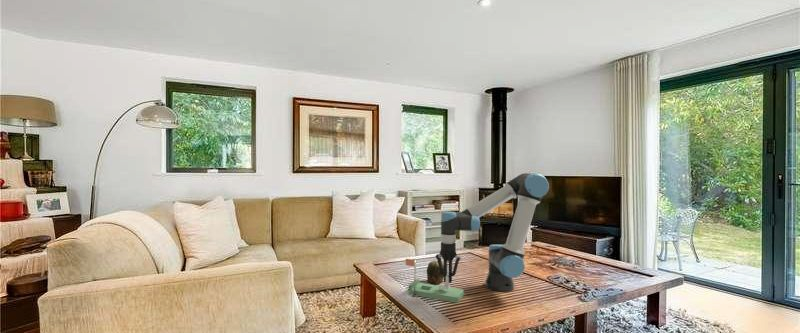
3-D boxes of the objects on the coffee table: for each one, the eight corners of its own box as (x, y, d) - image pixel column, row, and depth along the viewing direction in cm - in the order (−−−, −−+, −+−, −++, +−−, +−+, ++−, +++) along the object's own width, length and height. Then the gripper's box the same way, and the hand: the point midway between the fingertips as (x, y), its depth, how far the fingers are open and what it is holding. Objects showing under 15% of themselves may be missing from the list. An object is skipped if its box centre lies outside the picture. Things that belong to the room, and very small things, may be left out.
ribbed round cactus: (445, 286, 183) (445, 264, 183) (425, 284, 186) (425, 263, 186) (446, 279, 194) (446, 259, 194) (427, 278, 196) (427, 258, 196)
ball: (440, 281, 172) (438, 287, 172) (438, 283, 168) (436, 289, 169) (446, 284, 170) (444, 290, 171) (445, 286, 167) (442, 293, 168)
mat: (464, 294, 171) (464, 285, 171) (458, 302, 160) (458, 293, 160) (417, 286, 182) (417, 278, 182) (408, 294, 171) (408, 285, 171)
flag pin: (417, 295, 168) (418, 259, 169) (416, 297, 166) (416, 260, 166) (406, 293, 171) (406, 257, 171) (404, 295, 169) (404, 259, 169)
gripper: (462, 242, 169) (462, 288, 169) (438, 239, 175) (437, 284, 174) (459, 245, 162) (458, 293, 162) (433, 242, 168) (433, 289, 168)
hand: (447, 288), depth 168 cm, fingers closed
